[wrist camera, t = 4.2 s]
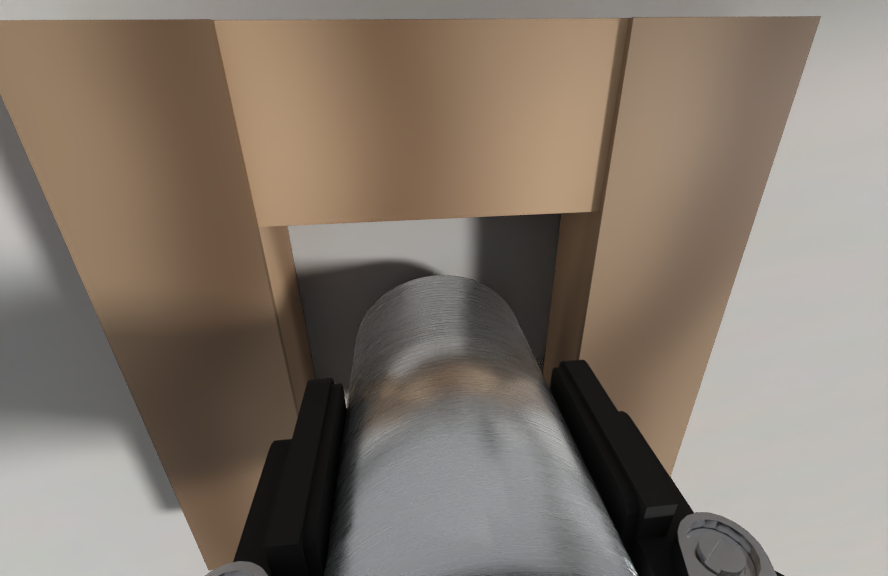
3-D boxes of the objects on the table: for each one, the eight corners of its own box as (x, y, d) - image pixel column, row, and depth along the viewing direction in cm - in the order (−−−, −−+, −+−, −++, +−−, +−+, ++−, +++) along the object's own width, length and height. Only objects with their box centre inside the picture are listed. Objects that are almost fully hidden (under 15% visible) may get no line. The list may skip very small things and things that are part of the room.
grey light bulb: (545, 253, 12) (884, 684, 4) (528, 415, 15) (702, 874, 6) (324, 264, 12) (144, 793, 3) (349, 431, 14) (288, 948, 6)
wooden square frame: (733, 25, 11) (820, 16, 9) (623, 464, 19) (656, 520, 16) (66, 29, 10) (-33, 21, 8) (233, 502, 17) (208, 570, 15)
